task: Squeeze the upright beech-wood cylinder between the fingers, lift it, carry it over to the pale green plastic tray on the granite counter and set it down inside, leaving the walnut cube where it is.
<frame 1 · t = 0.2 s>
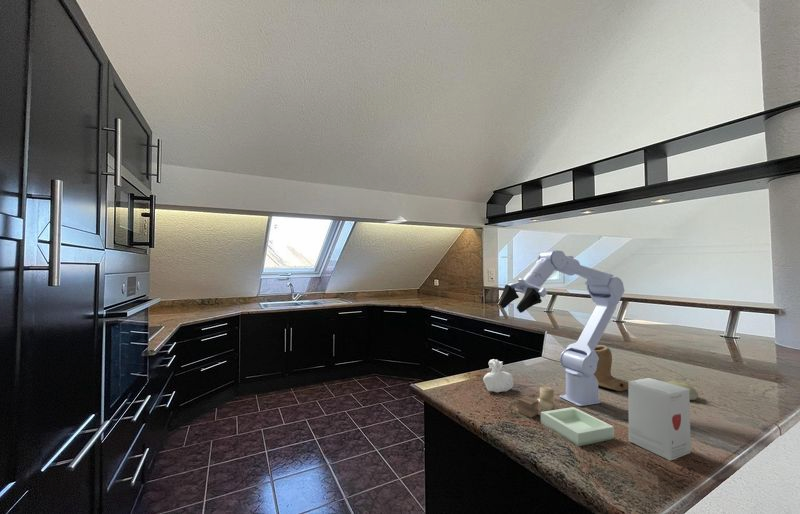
hand: (509, 308, 94), 31 cm above the countertop, tool tilted 45°, fingers open, 7 cm apart
bust: (497, 389, 110), on the countertop
tray: (575, 430, 82), on the countertop
beech cylinder: (546, 408, 95), on the countertop
supplement box: (659, 448, 74), on the countertop
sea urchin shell: (680, 397, 107), on the countertop
walnut cube: (528, 413, 91), on the countertop
brown boot: (601, 386, 116), on the countertop
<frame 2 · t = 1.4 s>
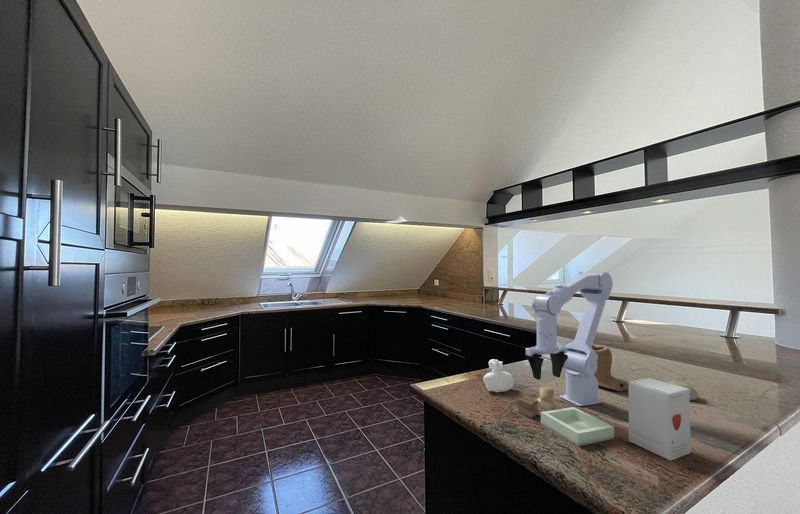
hand: (546, 377, 95), 9 cm above the countertop, tool pointing down, fingers open, 7 cm apart
nothing on the countertop moved.
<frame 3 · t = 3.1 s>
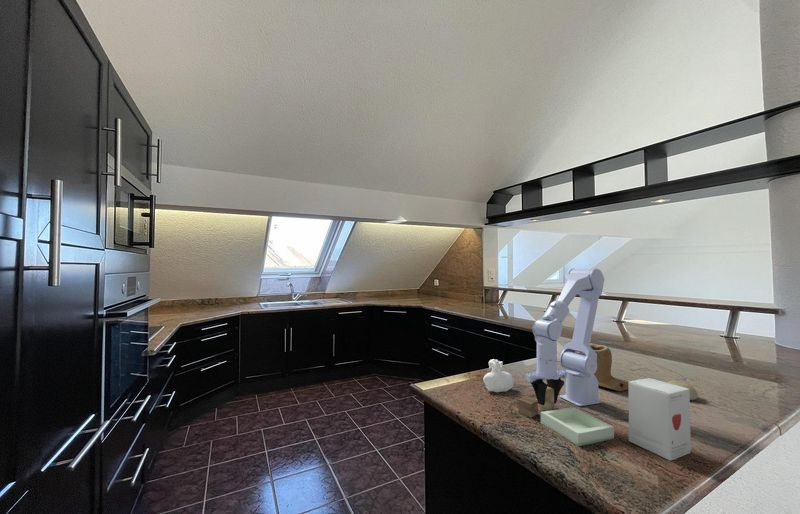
hand: (546, 403, 95), 2 cm above the countertop, tool pointing down, fingers closed on beech cylinder, 4 cm apart
beech cylinder: (546, 408, 95), on the countertop, touching gripper
everything else where it was.
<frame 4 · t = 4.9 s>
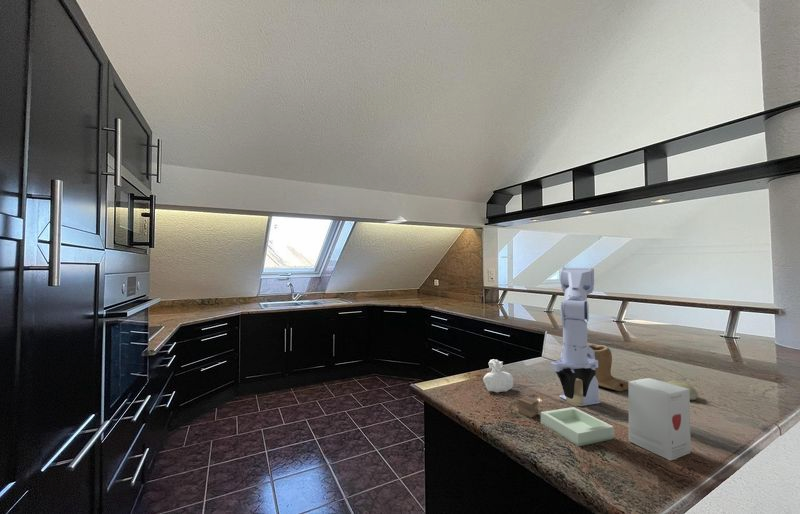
hand: (575, 396, 82), 9 cm above the countertop, tool pointing down, fingers closed on beech cylinder, 4 cm apart
beech cylinder: (574, 402, 82), point 7 cm above the countertop, touching gripper
everything else where it was.
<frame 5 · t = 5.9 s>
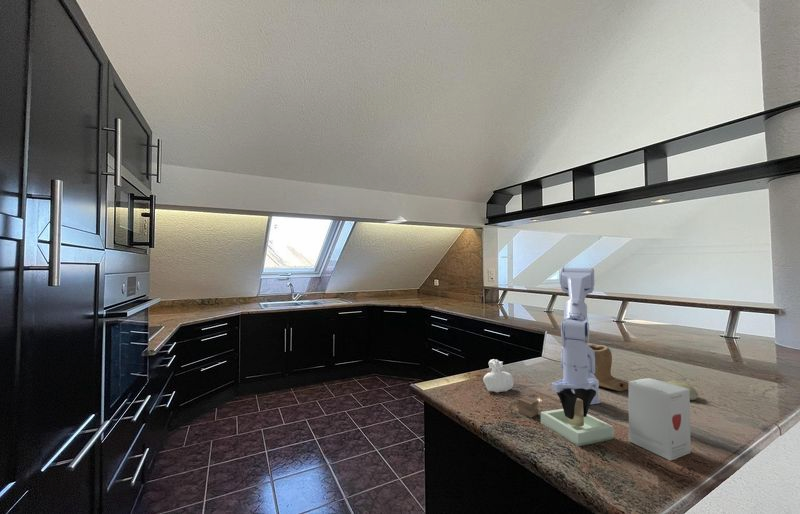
hand: (575, 416, 82), 4 cm above the countertop, tool pointing down, fingers closed on beech cylinder, 4 cm apart
beech cylinder: (575, 422, 82), point 2 cm above the countertop, touching gripper
everything else where it was.
when the fingers open (4 cm above the countertop, at t = 6.7 s): beech cylinder drops 1 cm, resting on tray.
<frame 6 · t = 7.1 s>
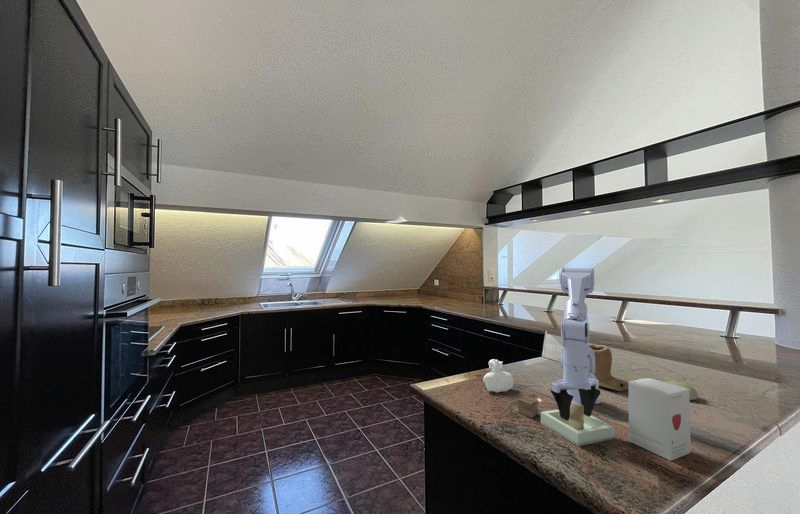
hand: (575, 416, 82), 4 cm above the countertop, tool pointing down, fingers open, 7 cm apart
beech cylinder: (575, 427, 82), point 1 cm above the countertop, touching tray
everything else where it was.
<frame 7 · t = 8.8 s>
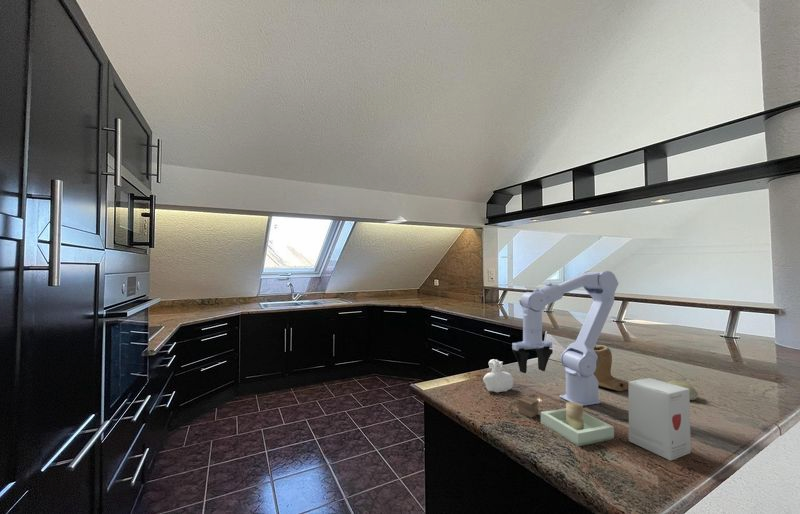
hand: (532, 371, 100), 10 cm above the countertop, tool pointing down, fingers open, 7 cm apart
nothing on the countertop moved.
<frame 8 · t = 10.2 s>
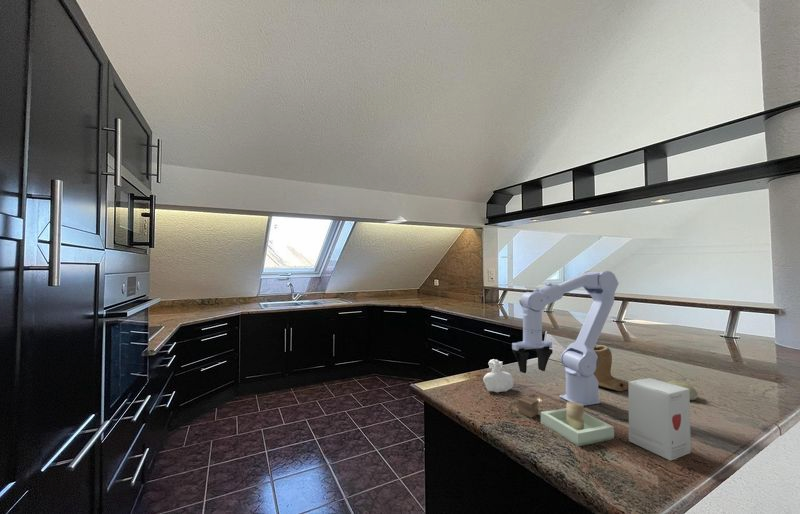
hand: (532, 371, 100), 10 cm above the countertop, tool pointing down, fingers open, 7 cm apart
nothing on the countertop moved.
at the end: beech cylinder inside the target area on the tray (0.2 cm from its centre), point 0.6 cm above the tray's base; the gripper is holding nothing; walnut cube moved 0.1 cm from its start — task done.
